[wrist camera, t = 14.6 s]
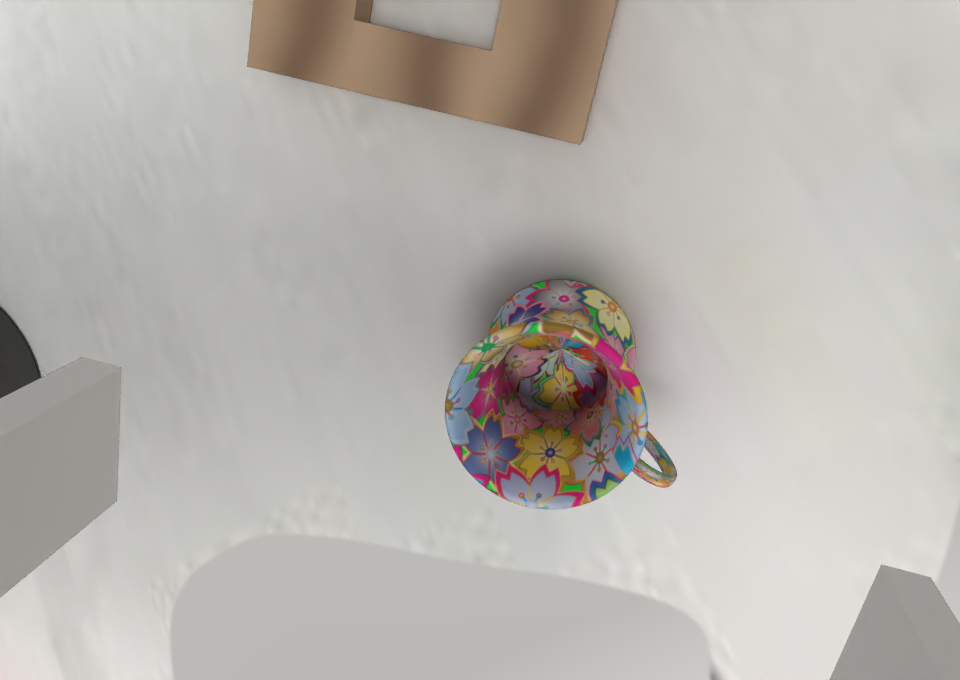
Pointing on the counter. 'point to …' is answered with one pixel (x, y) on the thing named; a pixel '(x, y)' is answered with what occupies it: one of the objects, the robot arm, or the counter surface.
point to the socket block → (448, 60)
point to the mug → (553, 401)
